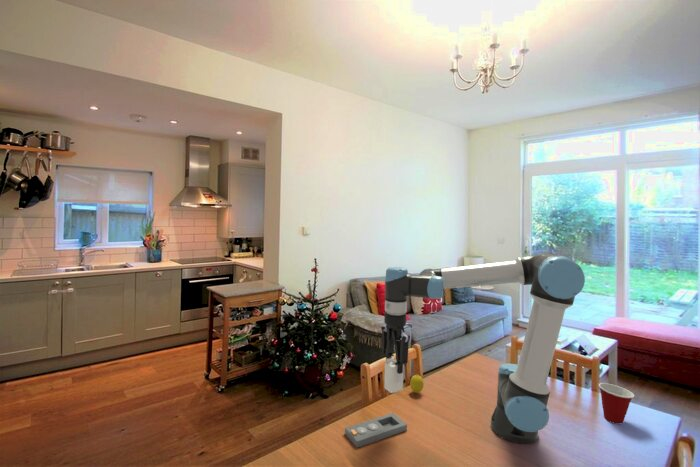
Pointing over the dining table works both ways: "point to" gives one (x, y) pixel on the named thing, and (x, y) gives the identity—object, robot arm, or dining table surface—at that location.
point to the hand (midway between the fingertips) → (393, 378)
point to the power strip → (375, 429)
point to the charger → (391, 378)
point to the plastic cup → (615, 402)
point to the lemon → (416, 383)
